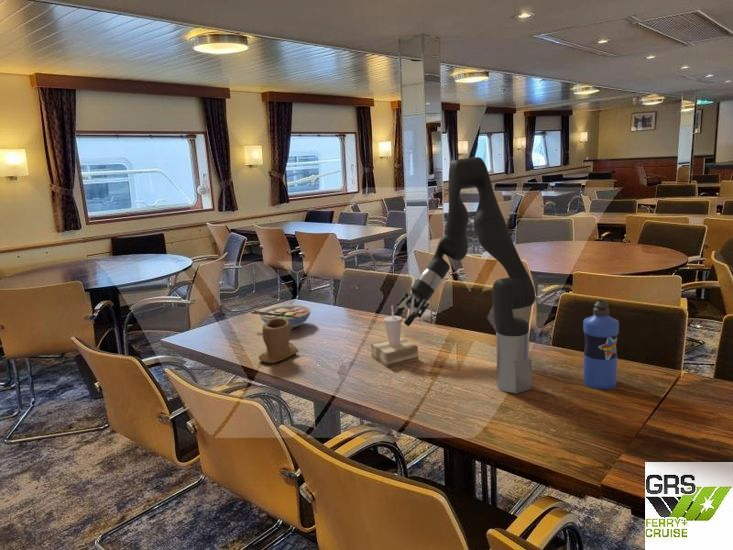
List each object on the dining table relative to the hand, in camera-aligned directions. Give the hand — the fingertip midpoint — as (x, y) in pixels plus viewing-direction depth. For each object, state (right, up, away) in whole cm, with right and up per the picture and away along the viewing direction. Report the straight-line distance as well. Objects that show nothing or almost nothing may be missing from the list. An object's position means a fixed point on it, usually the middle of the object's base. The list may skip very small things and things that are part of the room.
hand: (400, 321), depth 188 cm
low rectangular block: (-2, -13, +2) cm, 13 cm away
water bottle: (+57, -16, -29) cm, 66 cm away
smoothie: (-2, -8, +1) cm, 8 cm away
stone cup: (-43, -14, +10) cm, 47 cm away
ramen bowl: (-46, -7, +47) cm, 66 cm away
